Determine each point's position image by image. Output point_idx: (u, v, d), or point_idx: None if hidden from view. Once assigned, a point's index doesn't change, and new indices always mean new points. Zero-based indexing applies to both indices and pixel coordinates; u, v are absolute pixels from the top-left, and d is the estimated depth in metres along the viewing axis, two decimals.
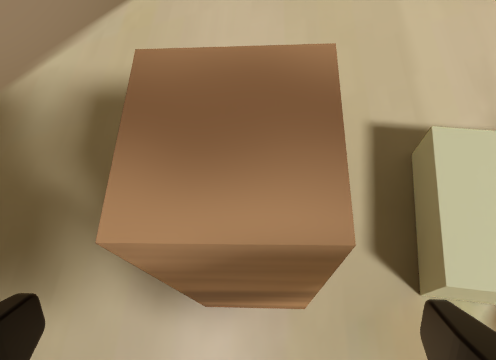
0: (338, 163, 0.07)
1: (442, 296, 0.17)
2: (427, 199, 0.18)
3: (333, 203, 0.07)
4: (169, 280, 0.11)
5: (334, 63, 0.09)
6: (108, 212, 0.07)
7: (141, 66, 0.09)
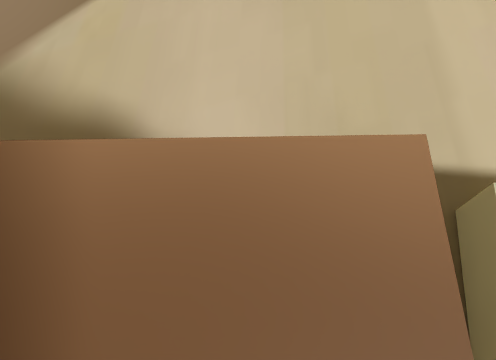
0: None
1: None
2: (488, 288, 0.13)
3: None
4: None
5: (431, 200, 0.03)
6: None
7: None
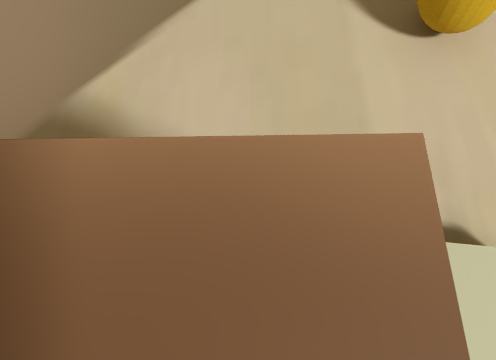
0: None
1: None
2: None
3: None
4: None
5: (428, 198, 0.03)
6: None
7: None
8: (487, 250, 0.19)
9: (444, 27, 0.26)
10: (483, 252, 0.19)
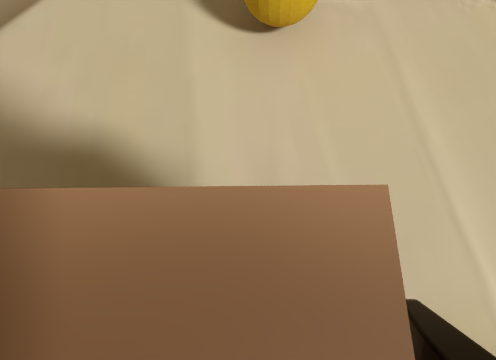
0: None
1: None
2: None
3: None
4: None
5: (389, 237, 0.04)
6: None
7: None
8: None
9: (269, 21, 0.24)
10: None
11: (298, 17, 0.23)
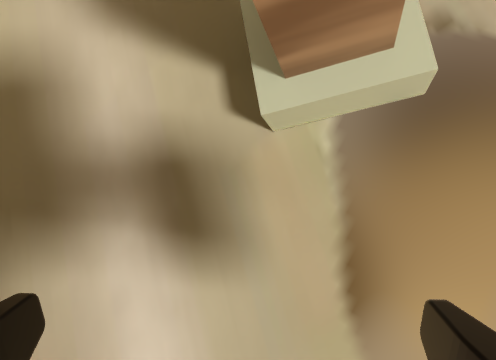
0: None
1: (287, 125, 0.20)
2: None
3: None
4: None
5: None
6: None
7: None
8: None
9: None
10: None
11: None
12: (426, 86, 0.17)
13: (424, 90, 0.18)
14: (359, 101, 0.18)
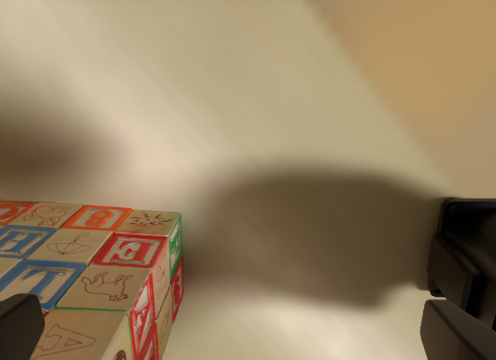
0: None
1: None
2: None
3: None
4: None
5: None
6: None
7: None
8: None
9: None
10: None
11: None
12: None
13: None
14: None
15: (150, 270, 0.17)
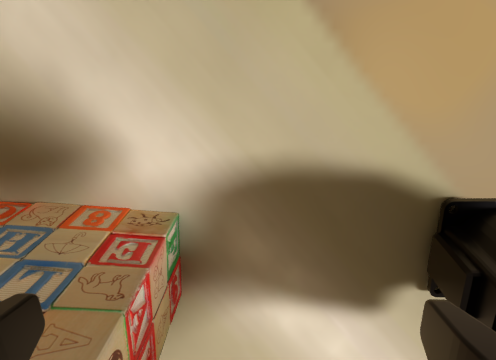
0: None
1: None
2: None
3: None
4: None
5: None
6: None
7: None
8: None
9: None
10: None
11: None
12: None
13: None
14: None
15: (147, 270, 0.17)
